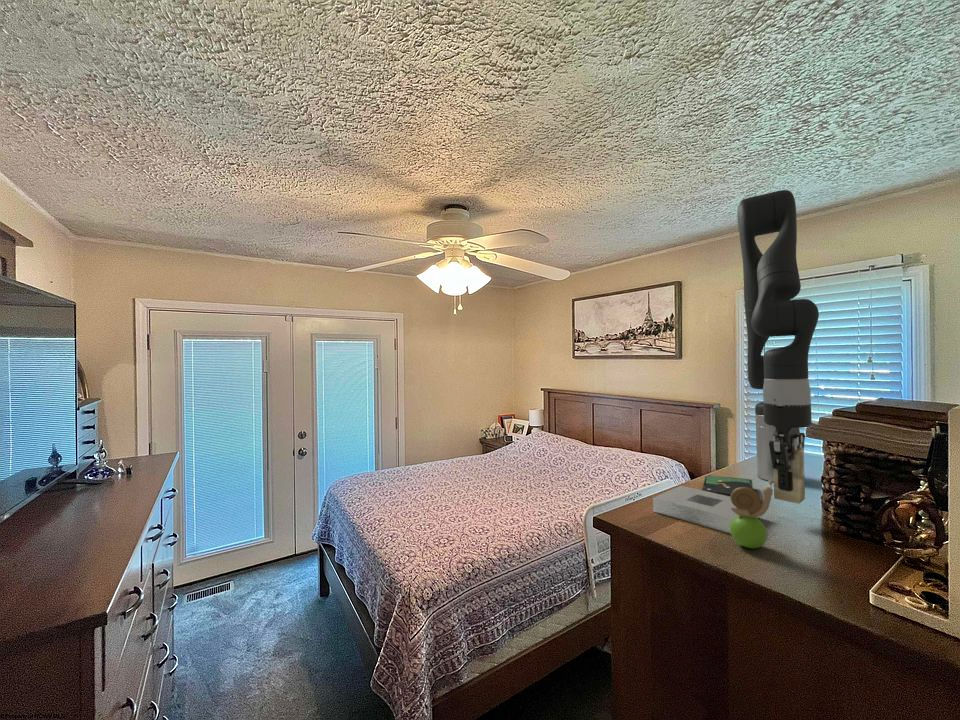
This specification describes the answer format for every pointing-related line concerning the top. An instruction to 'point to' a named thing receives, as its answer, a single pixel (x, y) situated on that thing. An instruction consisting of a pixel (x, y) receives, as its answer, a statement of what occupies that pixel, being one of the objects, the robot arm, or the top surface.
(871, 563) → the top surface
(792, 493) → the birch peg
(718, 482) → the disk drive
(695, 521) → the white flat block
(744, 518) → the snail figurine
